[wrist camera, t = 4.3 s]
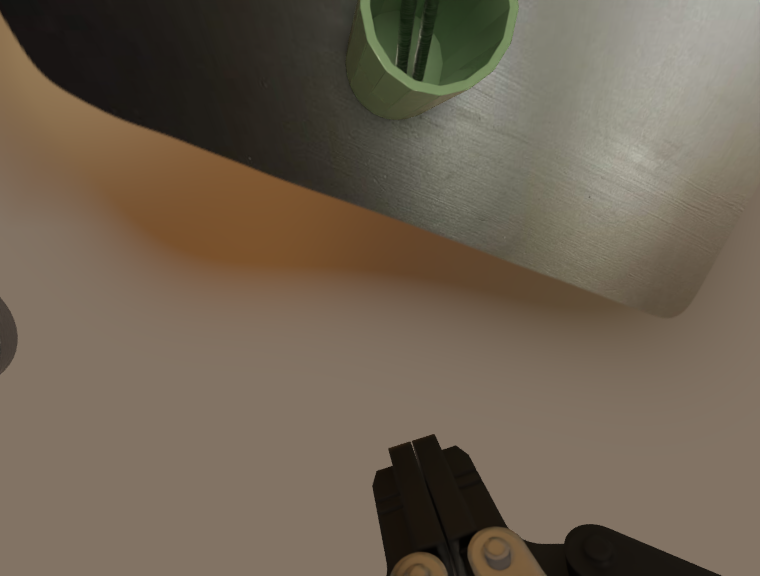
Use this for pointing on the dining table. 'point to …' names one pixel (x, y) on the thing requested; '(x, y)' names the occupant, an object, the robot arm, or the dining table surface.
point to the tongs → (423, 37)
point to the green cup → (445, 60)
